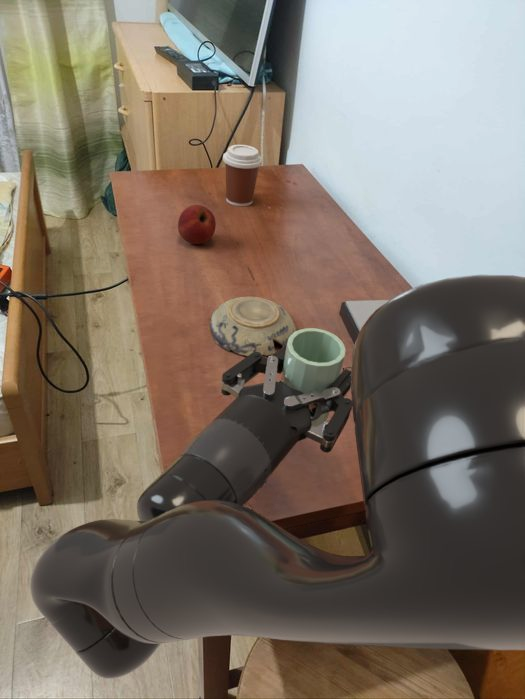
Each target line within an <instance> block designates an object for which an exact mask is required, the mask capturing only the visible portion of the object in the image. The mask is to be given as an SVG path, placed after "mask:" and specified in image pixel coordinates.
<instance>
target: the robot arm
mask: <svg viewBox="0 0 525 699" xmlns="http://www.w3.org/2000/svg"><path fill="white" fill-rule="evenodd" d="M388 300H389V301H388V302H387V303H385V304H384V305H382V306H381V307H380V308H378V309H377V310H376V311H375V312H374V313H373V314H372V315H371V316H370V317H369V318H368V320H367V321H366V322H365V324H364V325H363V327H362V328H361V330H360V333H359V335H358V337H357V340H356V342H355V345H354V344H353V349H352V355H351V365H350V370H349V369H347V368H344V369H343V370H342V371H341V372H340V375H339V377H338V378H337V379H336V380H335V381H334V382H333V384H332V385H331V388H328V389H326V390H323V391H318V390H313V391H310V392H307V393H303V392H301V391H299V390H296V389H293V388H291V387H289V386H288V385H287V384H286V383H284V382H282V381H281V380H279V381H277V374H278V375H282V371H283V365H284V359H285V353H286V347H287V345H285V346H282V347H281V348H280V349H279V350H278V351H276V352H275V354H273V355H268V357H267V356H263V355H262V354H261V353H259V352H253V353H251V354H250V355H249V356H245V357H244V358H243V359H241V360H240V361H239V362H237V363H236V364H234V365H233V366H231V367H230V368H229V369H227V370H226V371H224V372H223V373H222V376H221V385H220V386H221V389H220V390H221V391H220V393H221V394H222V395H223V396H226V397H227V396H228V397H229V396H230V395H232V396H233V397H235V399H234V400H232V401H231V402H230V403H229V404H228V405H227V406H226V407H225V408H224V409H223V410H222V411H221V412H220V413H219V414H218V415H217V416H216V417H214V419H212V421H210V422H209V423H208V424H207V426H205V427H204V428H203V429H202V430H201V431H200V432H199V433H198V434H197V435H196V436H195V437H194V438H193V439H192V441H190V443H189V444H188V445H187V447H186V448H185V449H184V450H183V451H182V453H180V455H179V456H178V457H177V458H176V459H175V460H174V461H173V462H172V463H171V464H170V465H169V466H168V467H167V468H166V469H165V470H163V472H162V473H161V474H160V475H159V476H158V477H156V478H155V479H154V480H153V481H152V482H151V483H150V484H149V485H148V486H147V487H146V488H145V489H144V491H143V492H142V493H141V494H140V496H139V498H138V499H137V503H136V510H137V517H138V520H132V519H117V518H108V519H107V518H105V519H98V520H97V519H96V520H93V521H89V522H86V523H84V524H81V525H78V526H76V527H74V528H72V529H70V530H68V531H67V532H65V533H63V534H62V535H60V536H59V537H58V538H56V539H55V540H54V541H53V542H52V543H51V544H49V545H48V546H47V547H46V549H45V550H44V551H43V552H42V554H41V555H40V557H39V558H38V560H37V561H36V563H35V565H34V567H33V569H32V573H31V577H30V586H29V587H30V588H29V589H30V595H31V598H32V601H33V603H34V605H35V607H36V608H37V610H38V612H40V614H41V615H42V616H43V617H44V618H45V619H46V621H47V622H48V623H49V624H50V625H51V626H52V628H54V630H55V631H56V632H57V633H58V634H59V635H60V637H62V639H63V640H64V641H65V642H66V643H67V644H68V645H69V647H70V648H71V649H72V650H73V651H74V652H75V654H76V655H77V656H78V658H80V660H81V661H82V662H83V663H84V664H85V665H86V666H87V668H88V669H89V670H90V671H91V672H92V673H93V674H95V675H96V676H98V677H100V678H103V679H117V678H122V677H124V676H127V675H129V674H130V673H133V672H134V671H136V670H138V669H139V668H140V667H141V666H143V665H144V664H145V663H146V662H147V661H148V660H149V659H150V658H151V657H152V656H153V655H154V653H155V652H156V651H157V650H158V648H159V647H160V645H161V644H166V643H167V644H168V643H173V642H180V641H189V640H194V639H196V640H197V639H201V638H208V637H223V636H233V637H234V636H236V637H237V636H240V637H251V638H252V637H253V638H262V639H271V640H278V641H279V640H280V641H287V642H288V641H289V642H297V643H309V644H323V645H341V646H359V647H380V648H381V647H383V648H399V649H400V648H401V649H402V648H403V649H423V650H424V649H427V650H428V649H429V650H464V651H466V650H469V651H525V276H519V275H514V274H513V275H511V274H474V275H473V274H472V275H464V276H463V275H462V276H452V277H447V278H443V279H439V280H434V281H431V282H427V283H424V284H423V283H422V284H419V285H417V286H414V287H413V288H409V289H408V290H405V291H403V292H401V293H398V294H397V295H395V296H394V297H392V298H390V299H388ZM259 374H262V375H263V374H264V381H263V383H257V384H256V383H255V384H252V385H247V386H245V385H246V384H247V383H248V382H250V381H251V380H252V379H254V378H255V377H256V376H258V375H259ZM349 391H350V392H351V398H348V397H346V395H347V393H348V392H349ZM328 412H329V413H330V412H333V414H332V416H331V418H330V420H329V421H328V420H326V421H324V423H321V424H320V425H319V426H312V422H311V421H314V420H316V419H318V418H319V417H320V416H321V415H322V414H325V413H328ZM351 412H352V418H353V423H354V435H355V442H356V451H357V458H358V466H359V475H360V483H361V492H362V501H363V508H364V516H365V522H366V528H367V533H368V534H367V535H368V539H369V543H370V551H369V552H368V554H367V555H341V554H336V553H331V552H328V551H326V550H322V549H320V548H318V547H316V546H314V545H313V544H310V543H308V542H306V541H304V540H302V539H301V538H299V537H297V536H295V535H293V534H292V533H290V532H289V531H287V530H286V529H284V528H283V527H281V526H280V525H278V524H277V523H275V522H273V520H270V519H268V518H267V517H265V516H264V515H262V514H260V513H259V512H256V510H254V509H251V508H250V507H247V506H244V505H245V504H247V502H249V501H250V500H251V499H252V498H253V497H254V495H256V494H257V492H258V491H259V490H260V489H261V488H263V487H264V486H265V484H266V483H267V482H268V478H270V476H271V475H272V474H273V472H274V471H276V469H277V467H279V465H280V464H281V462H283V460H284V459H285V458H286V457H287V456H288V454H289V453H290V452H291V451H292V449H293V448H294V447H295V445H296V444H297V443H299V442H301V441H304V440H306V439H309V440H312V441H313V442H316V443H318V444H320V445H319V449H320V451H321V452H323V453H327V454H328V453H330V452H332V451H333V448H334V446H335V444H336V443H337V441H338V439H339V437H340V436H341V433H342V432H343V430H344V428H345V427H346V424H347V423H348V421H349V418H350V415H351Z"/></svg>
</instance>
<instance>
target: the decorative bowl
mask: <svg viewBox="0 0 525 699" xmlns="http://www.w3.org/2000/svg"><path fill="white" fill-rule="evenodd" d="M209 324H210V325H209V326H210V330H211V333H212V335H213V339H214V342H215V344H216V345H218V346H219V347H221V348H222V349H224V350H227V351H228V352H230V351H232V352H233V353H235V354H237V355H240V356H245V357H247V356H249V355H250V354H251V353H253V352H259V353H261V354H262V356H264V357H267V356H268V357H269V356H274V355H275V354H276V348H275V342H276V343H278V344H280V345H281V346H282V347H283V346H285V345H287V342H288V339H289V337H290V336H291V335H292V334H293V333H294V332H295V331H297V328H296V324H295V322H294V320H293V318H292V316H291V315H290V313H288V311H287V310H286V309H285V308H283V306H281V305H280V304H279V303H276V302H275V301H272V300H270V299H268V298H264V297H260V296H253V295H251V296H248V295H247V296H238V297H233V298H231V299H228V300H226V301H224V302H223V303H221V304H220V305H219V306H217V308H216V309H214V310H213V312H212V313H211V317H210V322H209ZM274 341H275V342H274Z"/></svg>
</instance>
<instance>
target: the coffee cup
mask: <svg viewBox="0 0 525 699" xmlns="http://www.w3.org/2000/svg"><path fill="white" fill-rule="evenodd" d="M222 155H223V156H222V161H223V162H224V164H225V200H226V203H228V204H230V205H232V206H237V207H247V206H250V205H251V204H253V201H254V195H255V190H256V184H257V178H258V175H259V174H258V173H259V168H260V167H261V166H262V165H263V157H262V156H261V155H260V154H259V150H258V149H257V148H256V147H253V146H251V145H247V144H233V145H230V146H229V147H227V151H226V152H224V153H223V154H222Z"/></svg>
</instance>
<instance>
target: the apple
mask: <svg viewBox="0 0 525 699" xmlns="http://www.w3.org/2000/svg"><path fill="white" fill-rule="evenodd" d="M216 224H217V222H216V217H215V215H214V214H213V212H212V211H211V210H210V209H209V208H208V207H206V206H204V205H202V204H193V205H189V206H187V207H185V209H183V211H182V212H181V213H180V215H179V217H178V221H177V230H178V233H179V235H180V236H181V238H182V239H183V240H184V241H185V242H188V243H190V244H193V245H202V244H206V243H208V241H209V240H211V239H212V237H213V236H214V234H215V231H216Z"/></svg>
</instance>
